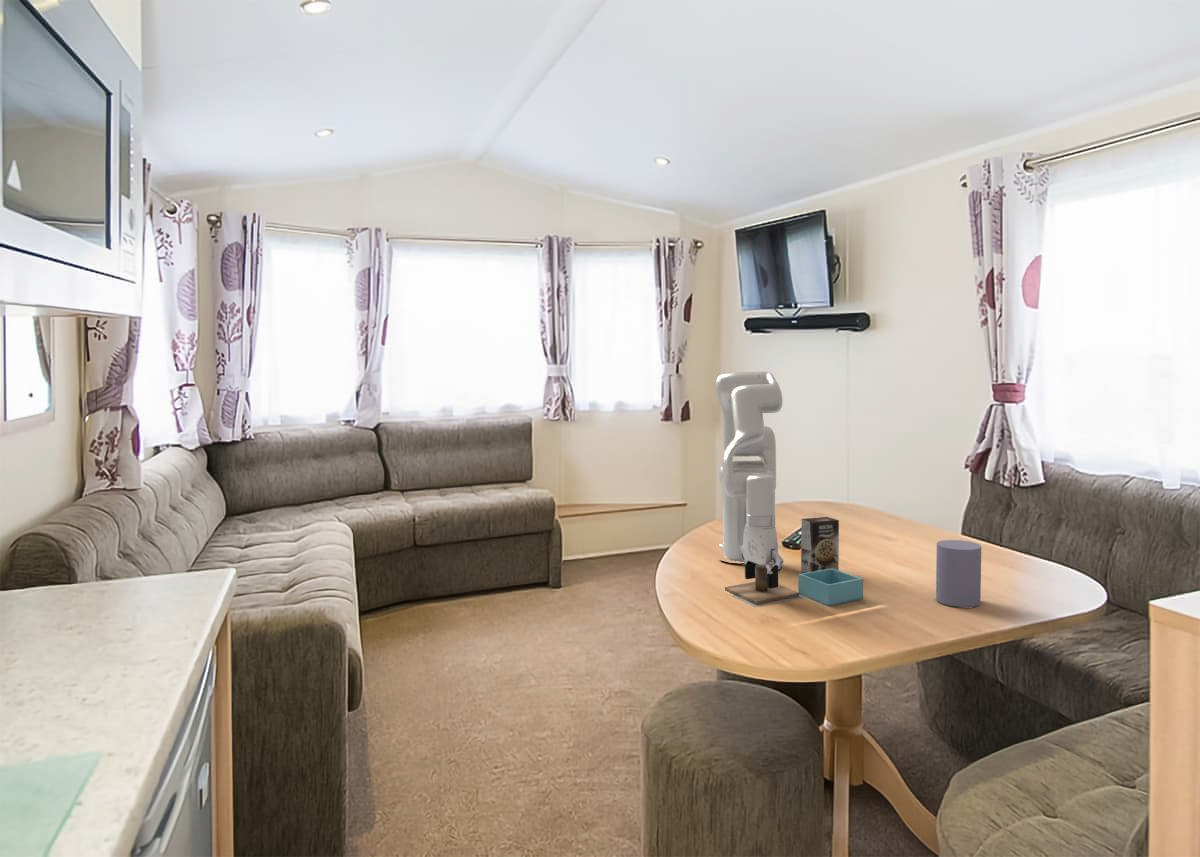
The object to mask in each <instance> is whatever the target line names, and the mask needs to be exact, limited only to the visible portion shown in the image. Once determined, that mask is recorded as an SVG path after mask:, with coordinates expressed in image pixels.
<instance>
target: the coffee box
mask: <svg viewBox="0 0 1200 857" xmlns="http://www.w3.org/2000/svg"><path fill="white" fill-rule="evenodd" d="M800 533H801V535H800V536H801V537H800V538H801V539H800V540H801V541H800V542H801V551H800V555H801V556H800V571H801V570H802V571H803V572H802V571H801V572H802V573H804V572H805V573H808V572H814V571H819V570H825V569H830V568H833V569H836V570H839V568H840V567H839V564H840V563H839V562H840V559H839V555H840V554H839V552H840V550H839V549H840V548H839V546H840V545H839V544H840V543H839V542H840V540H839V539H840V538H839V536H840V535H839V534H840V520H839V519H836V518H833V517H829V516H821V517H820V516H819V517H809V518H801V532H800ZM839 571H840V570H839Z"/></svg>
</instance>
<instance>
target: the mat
mask: <svg viewBox="0 0 1200 857" xmlns="http://www.w3.org/2000/svg"><path fill="white" fill-rule="evenodd" d="M729 596H731V593H730V595H729ZM731 597H732V598H735V599H737V600H739V601H741V602H744V603H746V604H747V605H750V606H752V607H754V608H756V607H757V608H758V607H763V606H767V605H773V604H777V603H782V602H787V601H788V602H789V601H793V600H796V599H797V600H799V599H803V598H805V597H804V596H802V595H799V597H795V598H790V599H784V600H779V601H774V602H769V603H764V604H759V605H755V604H753V603H750V602H748V601H746V600H744V599H742V598H740V597H737V596H735V595H732V596H731Z"/></svg>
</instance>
